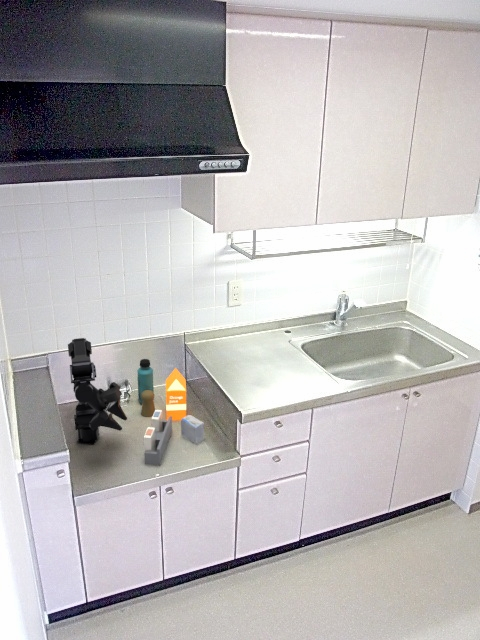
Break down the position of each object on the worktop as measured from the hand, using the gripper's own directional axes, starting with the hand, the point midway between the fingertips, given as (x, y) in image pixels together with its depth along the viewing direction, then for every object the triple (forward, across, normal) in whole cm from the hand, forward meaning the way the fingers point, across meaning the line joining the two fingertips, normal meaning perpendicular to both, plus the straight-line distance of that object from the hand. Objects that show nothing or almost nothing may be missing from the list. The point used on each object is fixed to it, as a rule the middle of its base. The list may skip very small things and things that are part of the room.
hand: (123, 424), depth 189 cm
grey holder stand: (+17, +6, +2) cm, 18 cm away
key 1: (+15, 0, +2) cm, 15 cm away
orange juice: (+19, +27, +1) cm, 33 cm away
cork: (+11, +26, +9) cm, 29 cm away
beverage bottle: (+9, +35, +11) cm, 37 cm away
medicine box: (+25, +13, -6) cm, 29 cm away
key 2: (+15, +11, +2) cm, 19 cm away
